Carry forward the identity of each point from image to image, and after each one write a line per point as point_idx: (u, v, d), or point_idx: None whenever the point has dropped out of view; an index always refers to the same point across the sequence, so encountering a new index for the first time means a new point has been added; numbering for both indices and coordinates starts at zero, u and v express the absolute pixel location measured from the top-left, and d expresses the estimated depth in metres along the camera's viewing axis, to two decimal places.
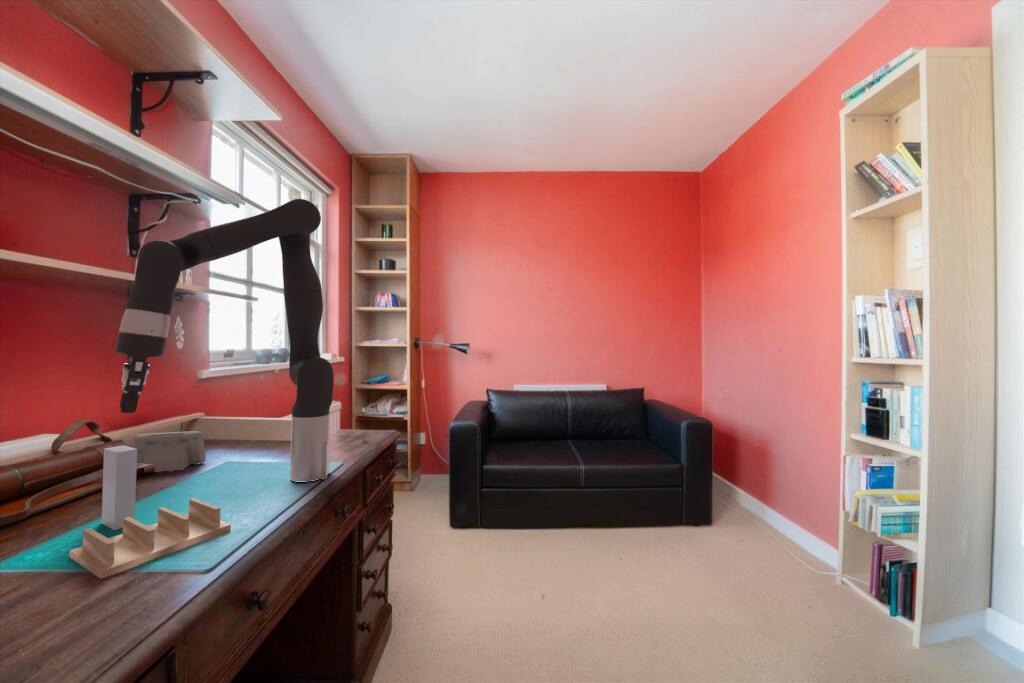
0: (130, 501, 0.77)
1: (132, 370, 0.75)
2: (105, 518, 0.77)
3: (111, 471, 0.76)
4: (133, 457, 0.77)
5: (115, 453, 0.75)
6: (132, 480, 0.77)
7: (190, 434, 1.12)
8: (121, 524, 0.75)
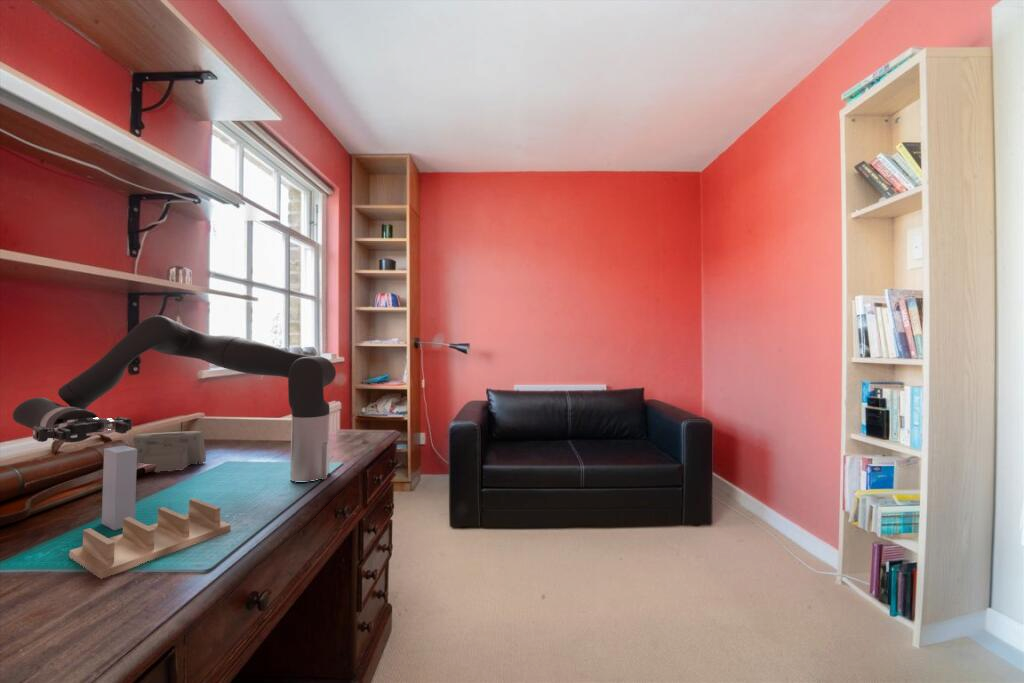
0: (130, 501, 0.77)
1: (34, 436, 0.80)
2: (105, 518, 0.77)
3: (111, 471, 0.76)
4: (133, 457, 0.77)
5: (115, 453, 0.75)
6: (132, 480, 0.77)
7: (190, 434, 1.12)
8: (121, 524, 0.75)
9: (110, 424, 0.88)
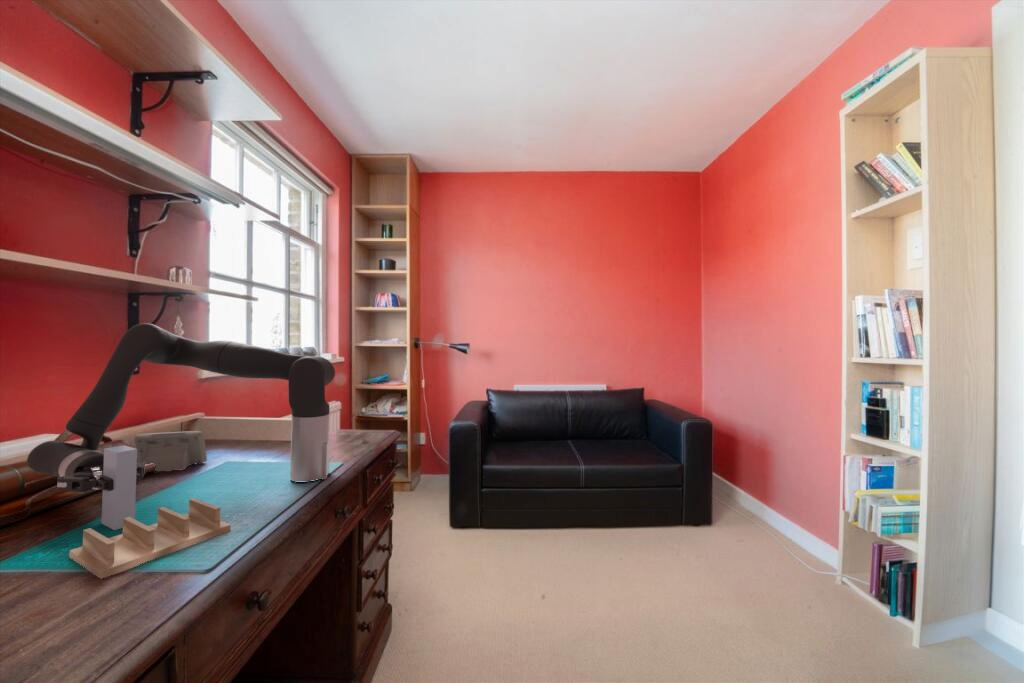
0: (130, 501, 0.77)
1: (64, 489, 0.75)
2: (105, 518, 0.77)
3: (111, 471, 0.76)
4: (133, 457, 0.77)
5: (115, 453, 0.75)
6: (132, 480, 0.77)
7: (191, 434, 1.12)
8: (121, 524, 0.75)
9: None
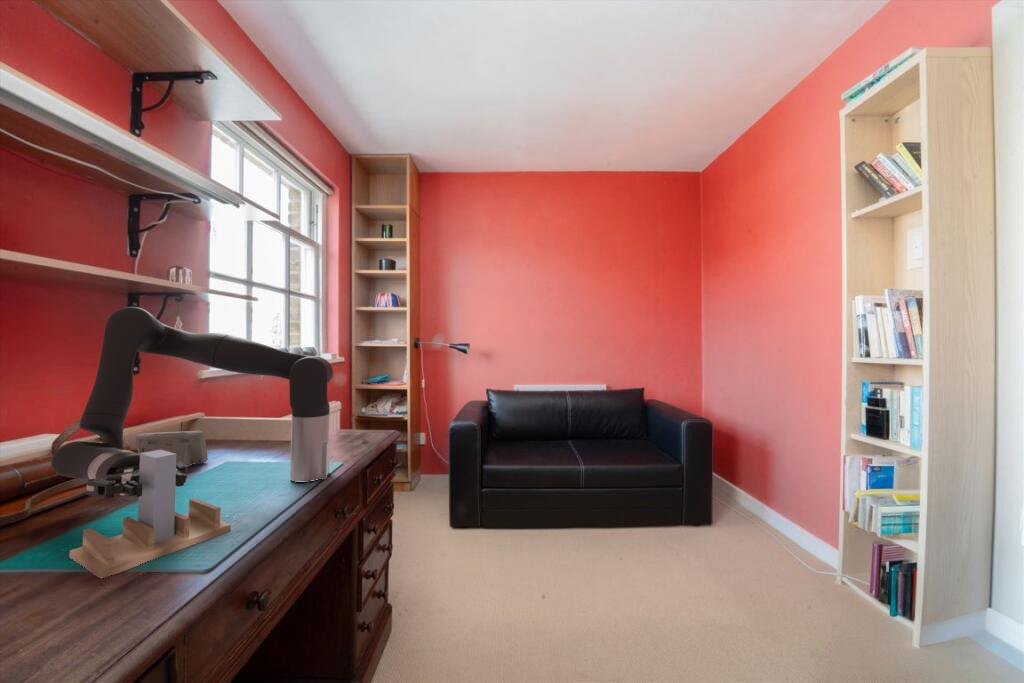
0: (169, 511, 0.69)
1: (91, 493, 0.67)
2: None
3: (148, 479, 0.69)
4: (172, 463, 0.70)
5: (153, 458, 0.68)
6: (171, 488, 0.70)
7: (192, 434, 1.13)
8: (160, 537, 0.68)
9: None
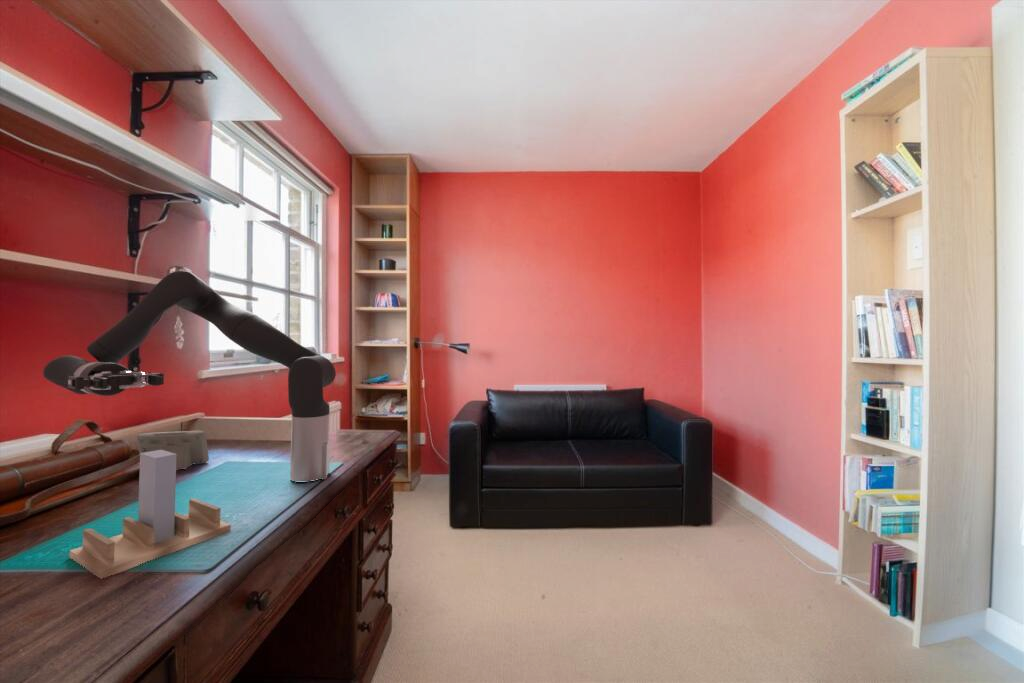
0: (169, 511, 0.69)
1: (69, 386, 0.79)
2: None
3: (149, 479, 0.69)
4: (172, 463, 0.70)
5: (154, 458, 0.68)
6: (171, 488, 0.70)
7: (193, 434, 1.13)
8: (160, 537, 0.68)
9: (143, 377, 0.88)
